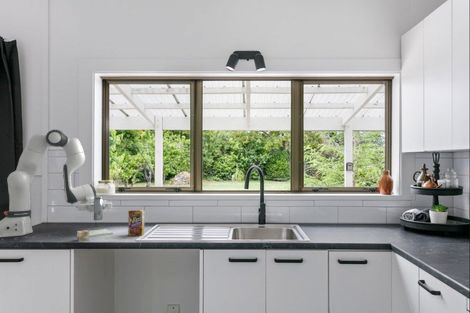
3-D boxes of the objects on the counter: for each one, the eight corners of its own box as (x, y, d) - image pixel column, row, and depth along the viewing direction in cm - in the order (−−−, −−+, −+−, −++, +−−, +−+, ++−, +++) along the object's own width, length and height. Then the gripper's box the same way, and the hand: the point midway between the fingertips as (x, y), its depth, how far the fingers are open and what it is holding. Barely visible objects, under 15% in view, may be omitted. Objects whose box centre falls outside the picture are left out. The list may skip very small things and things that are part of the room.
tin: (95, 220, 201) (95, 197, 202) (92, 219, 206) (92, 196, 206) (104, 219, 205) (104, 197, 205) (101, 218, 209) (101, 196, 209)
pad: (89, 237, 195) (89, 235, 195) (82, 233, 206) (82, 231, 206) (113, 233, 204) (113, 232, 204) (105, 230, 215) (105, 228, 215)
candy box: (127, 235, 199) (128, 210, 200) (130, 234, 203) (130, 209, 204) (141, 236, 198) (142, 210, 199) (144, 234, 203) (144, 209, 203)
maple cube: (79, 241, 184) (79, 232, 184) (76, 239, 188) (77, 231, 188) (88, 240, 187) (88, 231, 187) (86, 238, 191) (86, 230, 191)
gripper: (75, 201, 209) (80, 203, 198) (108, 199, 222) (115, 201, 211) (75, 211, 209) (80, 214, 198) (107, 208, 222) (115, 211, 211)
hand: (98, 207), depth 205 cm, fingers closed on tin, 5 cm apart
